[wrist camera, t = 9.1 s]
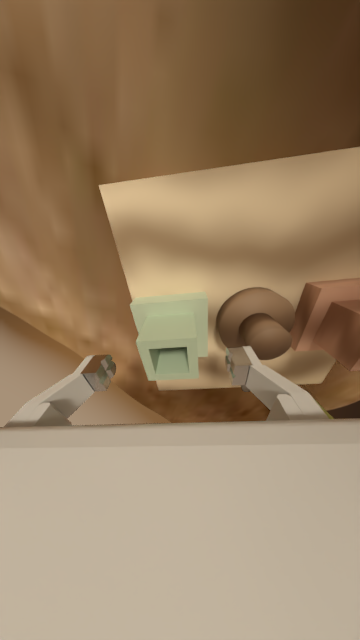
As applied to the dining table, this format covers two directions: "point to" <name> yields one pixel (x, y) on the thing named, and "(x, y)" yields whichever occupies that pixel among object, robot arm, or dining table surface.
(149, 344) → the pale green pipe fitting
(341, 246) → the plate
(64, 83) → the dining table surface
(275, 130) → the dining table surface
